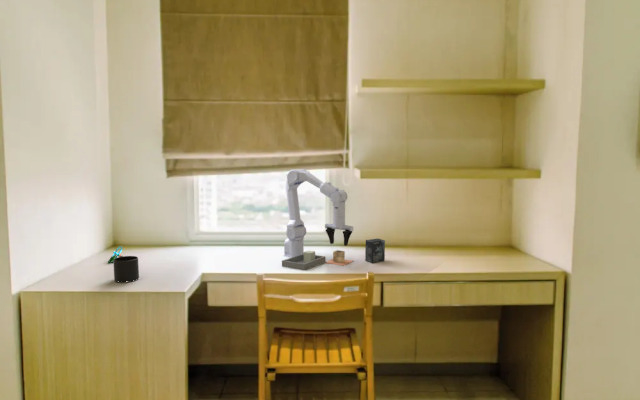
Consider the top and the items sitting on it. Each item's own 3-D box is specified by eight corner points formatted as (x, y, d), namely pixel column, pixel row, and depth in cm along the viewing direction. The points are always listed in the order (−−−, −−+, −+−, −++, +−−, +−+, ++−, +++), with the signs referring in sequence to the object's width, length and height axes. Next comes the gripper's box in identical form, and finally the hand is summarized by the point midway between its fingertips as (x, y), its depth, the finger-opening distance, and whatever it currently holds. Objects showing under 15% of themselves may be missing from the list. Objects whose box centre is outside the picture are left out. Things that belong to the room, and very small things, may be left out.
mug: (141, 274, 198) (140, 254, 197) (137, 282, 187) (136, 260, 186) (118, 275, 196) (117, 255, 195) (112, 283, 184) (111, 261, 183)
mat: (324, 263, 216) (324, 262, 216) (335, 259, 225) (335, 258, 225) (342, 266, 211) (342, 265, 211) (353, 262, 219) (353, 260, 219)
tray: (281, 267, 210) (281, 260, 210) (303, 259, 225) (303, 253, 225) (304, 270, 203) (304, 264, 203) (325, 262, 218) (325, 256, 218)
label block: (333, 262, 217) (333, 251, 216) (337, 260, 220) (337, 249, 220) (340, 263, 215) (340, 252, 214) (344, 261, 218) (344, 250, 217)
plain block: (303, 262, 217) (303, 252, 217) (308, 260, 221) (308, 250, 220) (310, 263, 215) (310, 253, 215) (315, 261, 219) (315, 251, 218)
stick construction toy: (114, 253, 228) (120, 242, 226) (126, 260, 230) (133, 249, 227) (102, 266, 217) (109, 254, 215) (115, 273, 219) (122, 262, 216)
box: (372, 263, 216) (372, 241, 215) (364, 261, 221) (365, 239, 220) (385, 261, 221) (385, 239, 219) (377, 259, 225) (377, 238, 224)
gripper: (321, 215, 216) (321, 244, 218) (348, 218, 208) (348, 247, 210) (329, 214, 222) (329, 241, 224) (355, 216, 214) (355, 245, 216)
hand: (338, 244), depth 217 cm, fingers open, 7 cm apart
